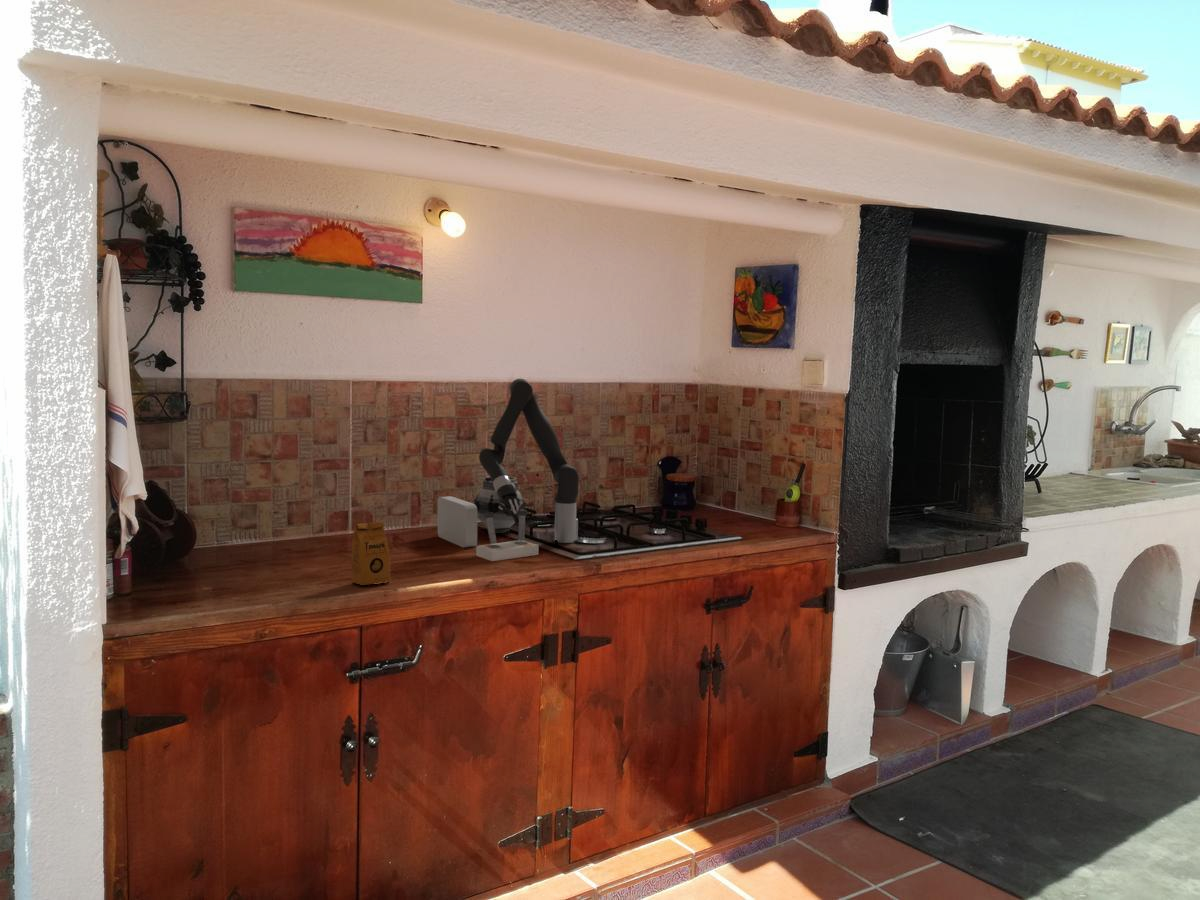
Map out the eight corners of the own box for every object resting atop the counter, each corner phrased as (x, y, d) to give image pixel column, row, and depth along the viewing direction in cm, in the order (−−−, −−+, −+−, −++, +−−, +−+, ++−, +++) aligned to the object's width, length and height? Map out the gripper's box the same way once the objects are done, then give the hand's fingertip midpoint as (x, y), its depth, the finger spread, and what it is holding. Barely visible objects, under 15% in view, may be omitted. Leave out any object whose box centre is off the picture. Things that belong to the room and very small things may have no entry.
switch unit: (522, 549, 401) (522, 538, 401) (538, 554, 392) (538, 543, 391) (476, 555, 388) (476, 544, 387) (492, 561, 378) (492, 550, 378)
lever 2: (522, 538, 395) (523, 509, 393) (526, 540, 393) (527, 510, 391) (516, 539, 393) (517, 509, 391) (519, 541, 391) (521, 511, 389)
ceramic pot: (461, 527, 445) (462, 474, 442) (505, 523, 458) (505, 471, 455) (491, 538, 421) (492, 482, 419) (536, 533, 434) (537, 479, 432)
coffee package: (393, 584, 339) (393, 523, 336) (358, 589, 332) (358, 526, 330) (383, 578, 347) (382, 518, 345) (349, 582, 340) (348, 521, 338)
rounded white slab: (482, 546, 405) (482, 504, 403) (465, 548, 400) (465, 505, 398) (453, 535, 428) (453, 494, 426) (437, 536, 424) (437, 496, 422)
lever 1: (495, 543, 387) (489, 513, 389) (498, 542, 385) (493, 511, 387) (488, 544, 385) (483, 513, 387) (492, 543, 383) (486, 512, 385)
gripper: (494, 484, 395) (509, 519, 386) (521, 482, 403) (536, 516, 394) (487, 495, 399) (502, 529, 391) (514, 493, 407) (529, 526, 399)
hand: (519, 523), depth 393 cm, fingers closed
